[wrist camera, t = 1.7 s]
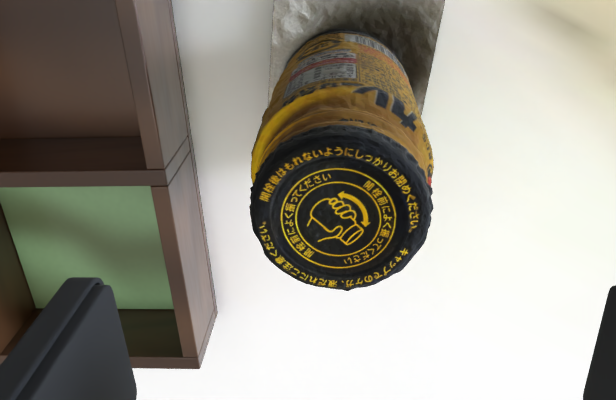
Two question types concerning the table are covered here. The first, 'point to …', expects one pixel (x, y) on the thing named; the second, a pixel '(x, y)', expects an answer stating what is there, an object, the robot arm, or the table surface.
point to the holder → (101, 173)
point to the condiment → (345, 140)
